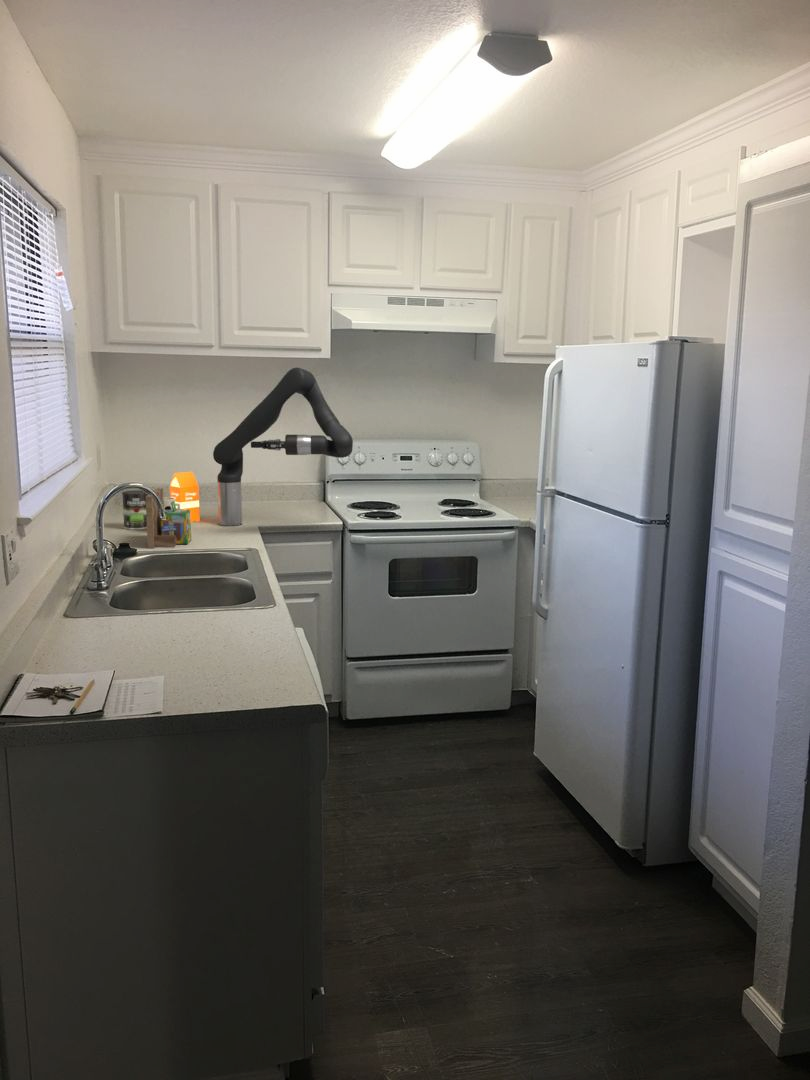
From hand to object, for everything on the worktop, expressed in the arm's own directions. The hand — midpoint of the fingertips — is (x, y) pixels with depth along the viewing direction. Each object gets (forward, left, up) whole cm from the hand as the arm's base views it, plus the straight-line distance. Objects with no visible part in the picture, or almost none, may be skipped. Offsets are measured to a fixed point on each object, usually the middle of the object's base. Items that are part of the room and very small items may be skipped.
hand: (251, 444), depth 317 cm
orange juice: (-34, -30, -34) cm, 57 cm away
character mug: (-8, -33, -34) cm, 48 cm away
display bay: (+12, -29, -34) cm, 47 cm away
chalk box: (+12, -26, -34) cm, 45 cm away
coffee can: (-19, -46, -34) cm, 60 cm away
